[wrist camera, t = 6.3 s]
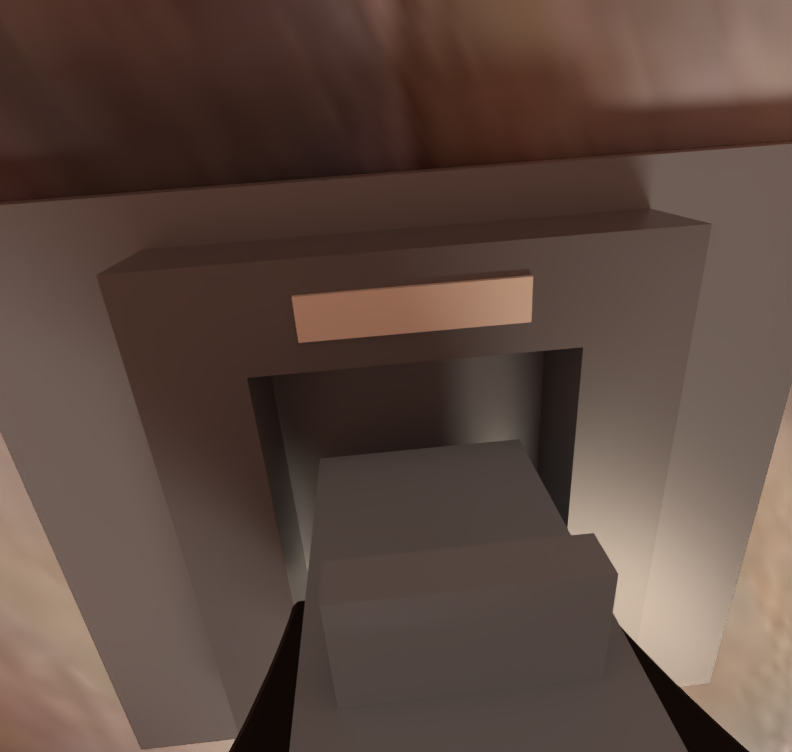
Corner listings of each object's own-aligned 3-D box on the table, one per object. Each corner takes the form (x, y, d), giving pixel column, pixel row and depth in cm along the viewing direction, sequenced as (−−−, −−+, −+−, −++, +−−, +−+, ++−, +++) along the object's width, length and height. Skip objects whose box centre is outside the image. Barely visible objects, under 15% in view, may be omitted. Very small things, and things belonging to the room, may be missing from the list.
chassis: (150, 723, 17) (113, 830, 14) (-65, 206, 10) (-208, 232, 8) (694, 660, 18) (753, 752, 15) (825, 138, 11) (973, 139, 8)
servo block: (357, 704, 14) (360, 1093, 8) (308, 386, 10) (249, 712, 4) (510, 687, 14) (614, 1056, 8) (521, 365, 10) (731, 658, 4)
